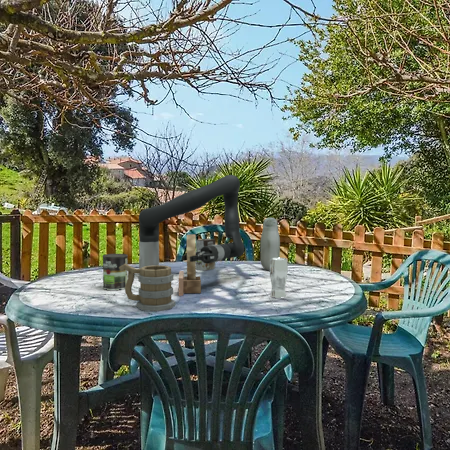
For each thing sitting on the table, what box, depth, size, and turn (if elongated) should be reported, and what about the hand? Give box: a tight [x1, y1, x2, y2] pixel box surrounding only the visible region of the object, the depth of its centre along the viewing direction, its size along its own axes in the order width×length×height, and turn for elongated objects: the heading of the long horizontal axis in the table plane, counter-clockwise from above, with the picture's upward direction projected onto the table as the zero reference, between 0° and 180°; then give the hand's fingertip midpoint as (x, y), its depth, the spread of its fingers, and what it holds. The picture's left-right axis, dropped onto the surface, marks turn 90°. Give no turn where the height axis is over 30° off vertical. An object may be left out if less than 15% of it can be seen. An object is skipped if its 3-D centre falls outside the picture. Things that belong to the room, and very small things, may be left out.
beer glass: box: [269, 257, 289, 299], centre depth 165 cm, size 7×7×15 cm
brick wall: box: [178, 270, 185, 297], centre depth 174 cm, size 2×16×7 cm, turn 5°
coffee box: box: [196, 238, 216, 272], centre depth 226 cm, size 9×6×16 cm
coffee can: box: [102, 253, 128, 291], centre depth 179 cm, size 10×10×14 cm
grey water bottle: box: [260, 217, 281, 271], centre depth 223 cm, size 10×10×28 cm
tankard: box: [119, 263, 176, 312], centre depth 150 cm, size 20×13×15 cm, turn 77°
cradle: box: [183, 275, 202, 294], centre depth 174 cm, size 7×9×5 cm
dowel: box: [186, 234, 197, 280], centre depth 173 cm, size 4×4×22 cm
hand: (186, 258), depth 171 cm, fingers closed on dowel, 3 cm apart
